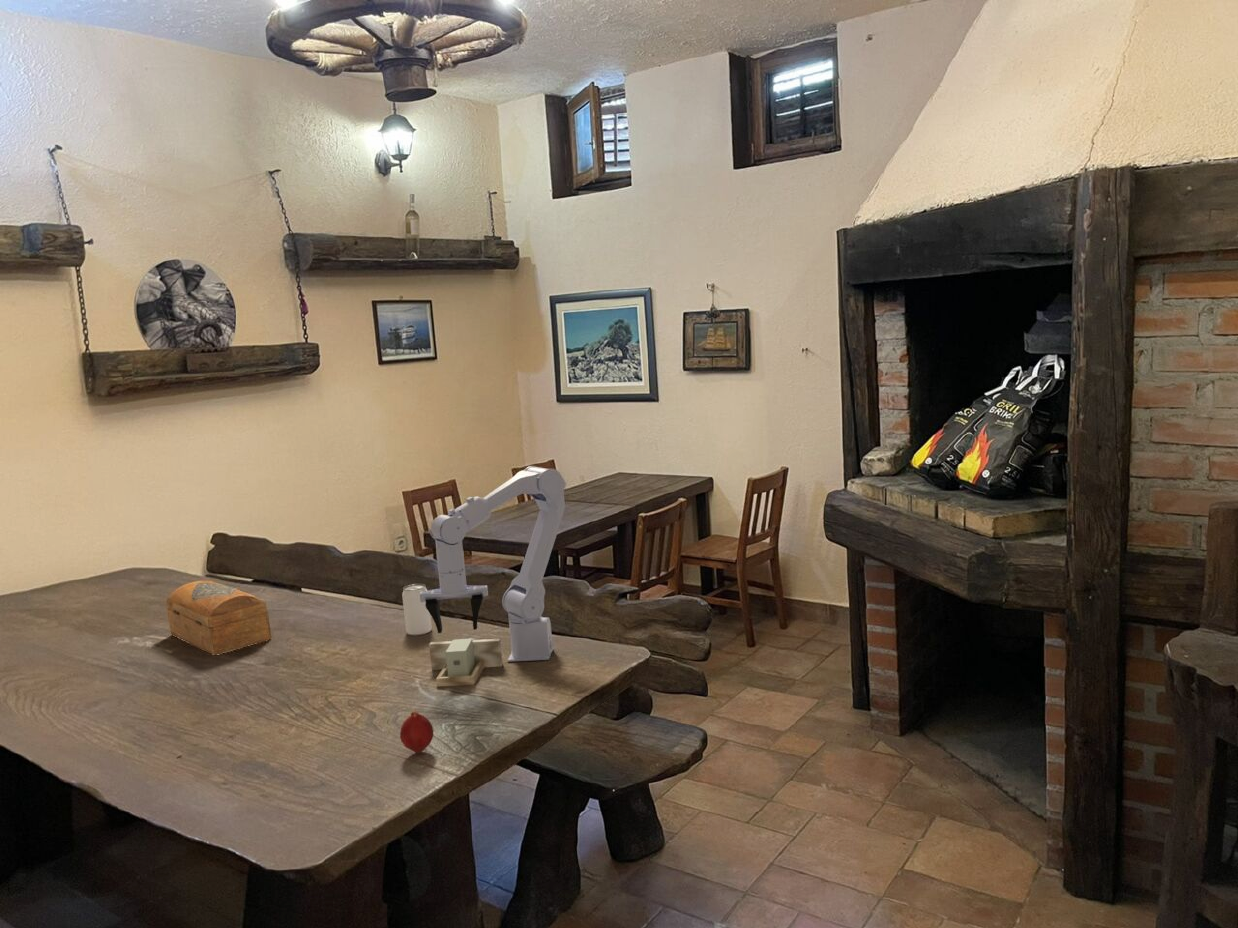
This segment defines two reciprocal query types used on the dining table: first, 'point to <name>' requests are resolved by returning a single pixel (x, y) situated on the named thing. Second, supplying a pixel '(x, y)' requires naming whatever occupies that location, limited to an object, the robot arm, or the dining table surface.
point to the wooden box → (217, 617)
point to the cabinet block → (460, 658)
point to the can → (415, 610)
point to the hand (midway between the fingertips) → (457, 629)
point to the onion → (416, 732)
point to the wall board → (484, 656)
